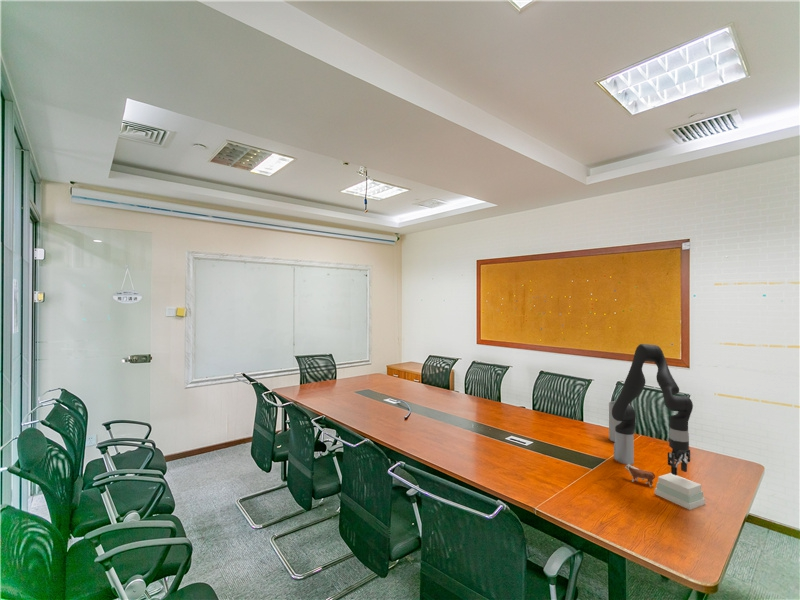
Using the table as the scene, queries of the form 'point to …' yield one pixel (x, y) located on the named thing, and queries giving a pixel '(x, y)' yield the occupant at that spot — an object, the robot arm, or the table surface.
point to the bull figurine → (640, 474)
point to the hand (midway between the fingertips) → (679, 472)
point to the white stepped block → (680, 491)
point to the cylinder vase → (612, 422)
